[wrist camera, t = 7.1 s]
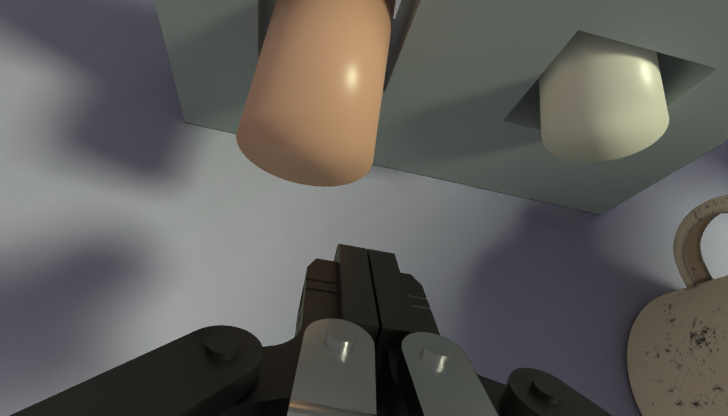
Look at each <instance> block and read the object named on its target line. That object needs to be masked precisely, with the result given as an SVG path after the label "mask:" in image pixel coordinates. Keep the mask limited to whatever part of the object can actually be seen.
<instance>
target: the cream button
mask: <svg viewBox="0 0 728 416" xmlns="http://www.w3.org/2000/svg"><path fill="white" fill-rule="evenodd" d="M539 94H540V116H541V137H542V142H543V144H544V146H545V148H546V149H547V150H548V151H550V152H551V153H552V154H554V155H556V156H558V157H561V158H564V159H567V160H572V161H579V162H600V161H608V160H614V159H619V158H622V157H626V156H629V155H632V154H634V153H637V152H639V151H641V150H643V149H645V148H647V147H649V146H650V145H652V144H653V143H654V142H656V141H657V140H658V139H659V138H660V137H661V136H662V135H663V134H664V133H665V131H666V129H667V127H668V124H669V115H668V110H667V105H666V100H665V94H664V89H663V84H662V79H661V74H660V69H659V63H658V58H657V53H656V51H652V50H649V49H645V48H642V47H638V46H634V45H631V44H627V43H624V42H620V41H616V40H613V39H609V38H606V37H602V36H599V35H595V34H591V33H588V32H584V31H581V30H578V31H577V32H576V34H575V35H574V36H573V37H572V38H571V40H570V41H569V42H568V43H567V44H566V46H565V47H564V48H563V49H562V50H561V52H560V53H559V54H558V55H557V56H556V58H555V59H554V60H553V61H552V62H551V64H550V65H549V66H548V67H547V68H546V70H545V71H544V72H543V73H542V74H541V76H540V77H539Z"/></svg>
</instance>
